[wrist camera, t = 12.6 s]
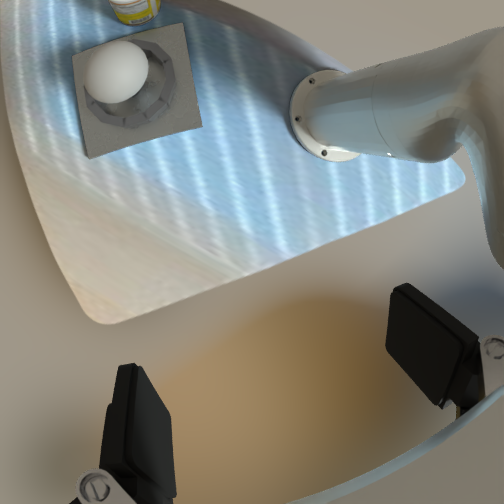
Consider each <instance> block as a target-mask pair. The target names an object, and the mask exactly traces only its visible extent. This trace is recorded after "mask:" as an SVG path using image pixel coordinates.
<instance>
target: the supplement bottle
mask: <svg viewBox="0 0 504 504" xmlns="http://www.w3.org/2000/svg"><path fill="white" fill-rule="evenodd" d="M108 1H109V3H110V4H111V6H112V8H113V10H114V12H115V14H116V15H117V17H118V19H119V20H120V21H121V22H122V23H123V24H125V25H128V26H140V25H144V24H146V23H148V22H150V21H151V20H152V19H154V18H155V17H156V16H157V14H158V13H159V11H160V7H161V1H160V0H108Z"/></svg>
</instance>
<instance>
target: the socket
mask: <svg viewBox="0 0 504 504" xmlns="http://www.w3.org/2000/svg"><path fill="white" fill-rule="evenodd" d="M127 42H131V43H133V44H135V45H137V46H138V47H140V48H141V49H142V50H143V52H144V53H145V55H146V56H147V57H152V58H154V59H155V60H156V61H157V62H158V63H159V64H160V65H161V66H162V67H163V68H164V72H165V77H166V81H165V84H164V86H163V89H162V91H161V94H160V97H159V99H158V100H156V101H155V102H154V103H153V104H152V105H151V106H150V107H149V108H148V109H147V110H145V111H144V112H143V113H139V114H136V115H132V116H129V117H126V118H122V117H118V116H113V115H111V114H110V113H109V112H108V111H107V110H106V109H105V108H104V106H103V105H102V102H100V101H98V100H96V99H94V98H93V97H92V96H91V95H89V93H88V92H87V90H86V88H85V86H84V92H85V99H86V105H87V108H88V109H89V110H90V111H91V112H92V113H93V114H94V115H95V116H96V117H97V118H98V119H99V120H100V121H101V122H102V123H106V124H110V125H115V126H119V127H124V128H128V129H130V128H133V127H137V126H140V125H143V124H147V123H150V122H152V121H153V120H154V119H155V118H156V117H157V116H158V115H160V114H161V113H162V112H163V111H164V110H165V109H166V108H167V107H168V106H169V104H170V101H171V99H172V96H173V93H174V91H175V88H176V79H175V73H174V68H173V62H172V58H171V57H170V56H169V55H168V54H167V53H166V52H165V51H164V50H163V49H162V48H161V47H160V46H159V45H158V44H157V43H153V42H148V41H143V40H138V39H132V40H128V41H127Z"/></svg>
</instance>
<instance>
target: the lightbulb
mask: <svg viewBox="0 0 504 504" xmlns="http://www.w3.org/2000/svg"><path fill="white" fill-rule="evenodd" d="M148 68H149V65H148V60H147V57H146V55H145V53H144V52H143V50H142V49H141V48H140V47H138V46H137V45H135V44H133V43H131V42H127V41H113V42H110V43H106V44H104V45H103V46H101V47H99V48H98V49H97V50H95V51H94V52H93V53H92V54H91V56H90V57H89V59H88V60H87V62H86V64H85V67H84V72H83V82H84V86H85V88H86V90H87V92H88V93H89V95H91V96H92V97H93V98H94V99H96V100H98V101H100V102H103V103H110V104H112V103H119V102H122V101H125V100H127V99H129V98H131V97H132V96H133V95H135V94H136V93H137V92H138V91H139V90H140V89H141V87H142V86H143V84H144V82H145V80H146V78H147V75H148Z"/></svg>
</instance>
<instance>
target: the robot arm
mask: <svg viewBox="0 0 504 504" xmlns="http://www.w3.org/2000/svg"><path fill="white" fill-rule="evenodd" d="M309 81H311V84H310V83H309ZM289 115H290V123H291V126H292V129H293V132H294V134H295V136H296V137H297V139H298V141H299V142H300V143H301V145H302V146H303V147H304V148H305V149H306V150H307V151H308V152H309V153H311V154H313V155H314V156H316V157H318V158H320V159H323V160H326V161H331V162H344V161H349V160H351V159H354V158H356V157H357V156H359V155H360V154H369V155H376V156H383V157H389V158H396V159H402V160H407V161H414V162H420V163H437V162H440V161H443V160H446V159H447V158H449V157H450V156H452V155H453V154H454V153H456V152H457V151H458V150H459V149H460V147H462V145H463V146H464V147H465V149H466V150H467V152H468V155H469V158H470V161H471V164H472V168H473V172H474V175H475V177H476V182H477V186H478V191H479V196H480V201H481V206H482V213H483V219H484V224H485V230H486V235H487V240H488V244H489V247H490V250H491V253H492V255H493V257H494V259H495V260H496V262H497V263H498V264H499V266H500V267H501V268H502V269H503V270H504V27H497V28H492V29H488V30H485V31H482V32H479V33H476V34H473V35H471V36H468V37H465V38H463V39H460V40H458V41H455V42H453V43H450V44H447V45H444V46H441V47H438V48H436V49H433V50H429V51H426V52H422V53H419V54H415V55H411V56H408V57H403V58H399V59H395V60H392V61H389V62H385V63H381V64H377V65H374V66H371V67H367V68H364V69H360V70H357V71H354V72H351V73H348V74H346V73H344V72H340V71H337V70H322V71H318V72H316V73H313V74H311V75H309V76H307V77H306V78H305V79H303V80H302V81H301V82H300V83H299V84H298V86H297V87H296V88H295V90H294V92H293V95H292V97H291V101H290V109H289ZM295 118H297V119H298V120H297V121H296V120H295ZM321 151H322V152H323V154H322V155H321ZM478 338H479V337H478V336H477V335H476V334H475V333H473V332H472V331H471V330H470V329H469V328H467V327H466V326H465V325H463V324H462V323H461V322H460V321H459V320H457V319H456V318H455V317H453V316H452V315H451V314H449V313H448V312H447V311H446V310H444V309H443V308H442V307H440V306H439V305H438V304H436V303H435V302H434V301H432V300H431V299H430V298H428V297H427V296H426V295H424V294H423V293H422V292H420V291H419V290H418V289H416V288H415V287H414V286H412V285H411V284H409V283H404V284H402V285H399V286H397V287H395V288H394V289H393V292H392V293H391V295H390V306H389V317H388V327H387V335H386V344H385V346H386V350H387V352H388V353H389V354H390V355H391V356H392V357H393V359H394V360H395V361H396V362H397V363H398V364H399V365H400V367H401V368H402V369H403V370H404V371H405V372H406V373H407V374H408V376H409V377H410V378H411V379H412V380H413V381H414V382H415V384H416V385H417V386H418V387H419V388H420V389H421V390H422V391H423V393H424V394H425V395H426V396H427V397H428V399H429V400H430V401H431V402H432V403H433V404H434V405H438V406H439V407H440V408H441V409H444V408H445V407H447V406H449V405H450V404H451V403H452V402H454V403H455V404H456V419H455V421H454V422H452V423H451V424H450V425H448V426H447V427H445V428H444V429H442V430H441V431H439V432H438V433H437V434H435V435H433V436H432V437H430V438H429V439H427V440H426V441H424V442H423V443H421V444H419V445H418V446H416V447H414V448H413V449H411V450H409V451H408V452H406V453H404V454H402V455H400V456H399V457H397V458H395V459H393V460H391V461H389V462H388V463H386V464H384V465H382V466H380V467H378V468H376V469H374V470H372V471H370V472H368V473H365V474H363V475H361V476H359V477H357V478H354V479H352V480H350V481H348V482H345V483H343V484H340V485H338V486H335V487H333V488H330V489H328V490H325V491H322V492H319V493H317V494H314V495H311V496H308V497H305V498H302V499H299V500H296V501H292V502H289V503H286V504H504V337H501V336H498V335H489V336H487V337H485V338H484V339H483V340H482V341H481V343H479V342H478ZM174 472H175V471H174V459H173V445H172V428H171V416H170V413H169V411H168V410H167V408H166V407H165V405H164V403H163V402H162V400H161V399H160V397H159V395H158V394H157V392H156V390H155V389H154V387H153V385H152V383H151V382H150V380H149V378H148V377H147V375H146V373H145V371H144V370H143V368H142V367H141V366H137V365H136V364H135V363H131V364H125V365H120V366H119V367H118V371H117V376H116V382H115V387H114V393H113V399H112V403H111V404H109V405H108V407H107V411H106V417H105V424H104V431H103V439H102V446H101V455H100V465H99V469H90V470H87V471H86V472H84V473H83V474H82V475H81V476H80V477H79V479H78V480H77V482H76V494H77V496H78V497H77V498H75V499H74V500H73V501H72V502H71V503H70V504H173V499H172V498H175V497H176V495H177V493H176V482H175V473H174Z"/></svg>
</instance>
